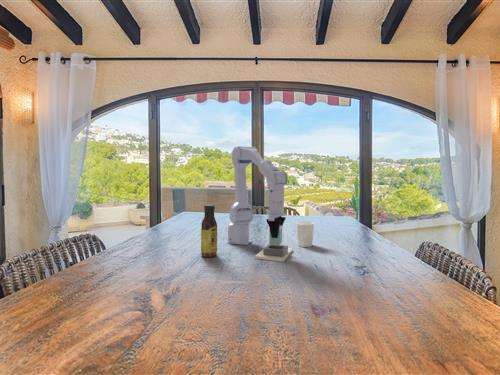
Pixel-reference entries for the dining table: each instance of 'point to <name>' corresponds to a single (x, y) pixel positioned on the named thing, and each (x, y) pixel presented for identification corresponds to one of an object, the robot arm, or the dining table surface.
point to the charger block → (276, 240)
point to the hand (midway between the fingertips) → (276, 236)
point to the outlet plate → (274, 252)
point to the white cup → (304, 233)
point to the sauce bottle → (209, 233)
